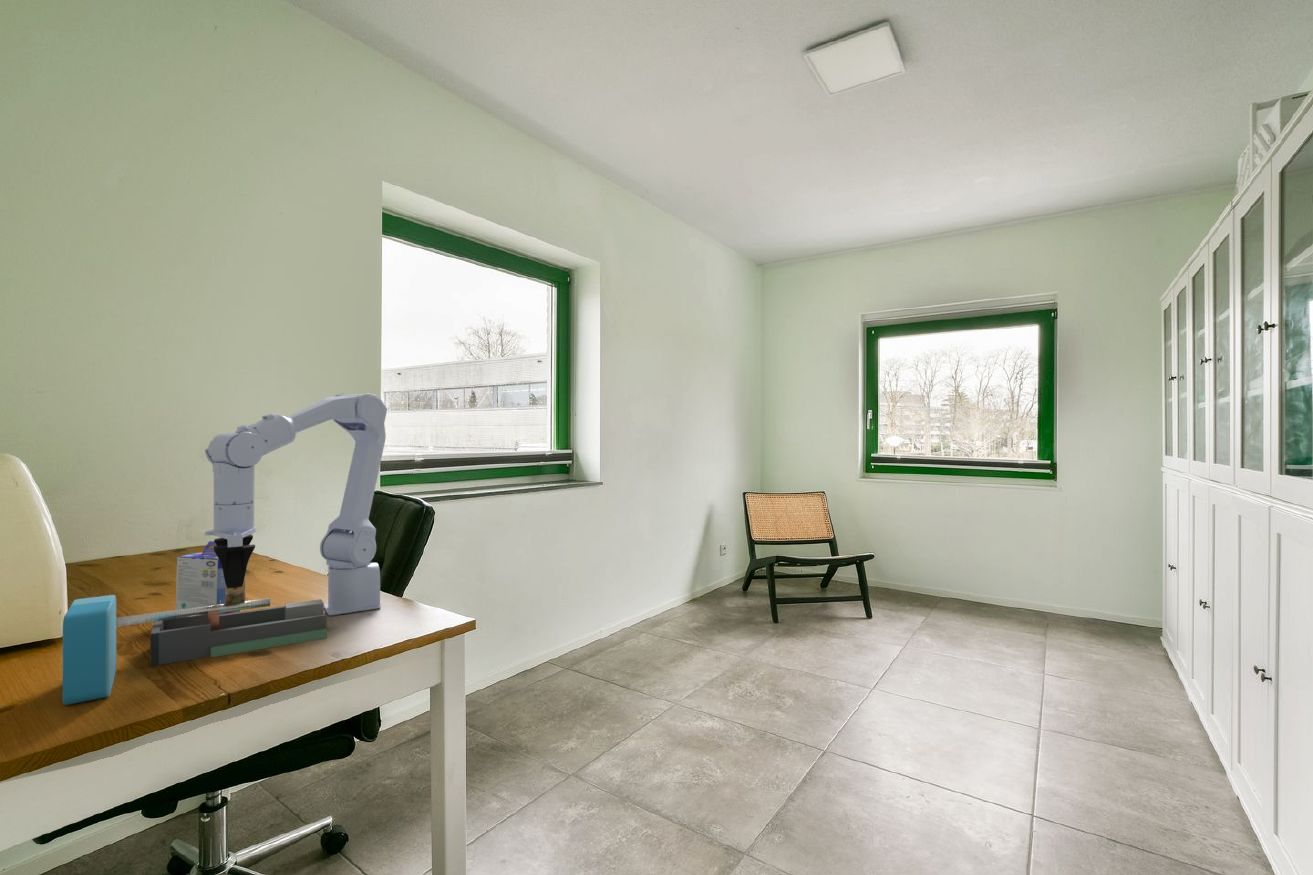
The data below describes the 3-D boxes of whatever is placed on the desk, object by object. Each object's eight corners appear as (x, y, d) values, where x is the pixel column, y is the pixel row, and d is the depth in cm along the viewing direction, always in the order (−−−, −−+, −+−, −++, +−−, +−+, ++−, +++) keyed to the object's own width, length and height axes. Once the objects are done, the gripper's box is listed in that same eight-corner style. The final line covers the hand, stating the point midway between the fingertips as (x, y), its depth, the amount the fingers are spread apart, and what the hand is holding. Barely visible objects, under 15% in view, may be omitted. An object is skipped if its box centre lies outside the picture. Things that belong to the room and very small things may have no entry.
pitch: (317, 619, 117) (318, 593, 117) (327, 637, 107) (327, 609, 107) (156, 644, 103) (156, 614, 103) (150, 667, 93) (150, 634, 93)
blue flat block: (75, 678, 89) (75, 597, 88) (116, 671, 91) (116, 592, 91) (62, 709, 79) (62, 617, 79) (108, 700, 82) (108, 611, 82)
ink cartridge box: (243, 615, 119) (243, 541, 119) (217, 624, 114) (217, 547, 113) (201, 611, 121) (201, 539, 121) (174, 620, 116) (174, 544, 115)
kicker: (268, 622, 109) (269, 572, 109) (270, 630, 105) (271, 578, 105) (106, 646, 96) (107, 590, 96) (102, 656, 92) (102, 597, 92)
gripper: (205, 500, 107) (205, 576, 107) (204, 509, 95) (204, 595, 96) (253, 497, 111) (253, 571, 112) (257, 506, 100) (257, 589, 100)
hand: (234, 582), depth 104 cm, fingers open, 7 cm apart
